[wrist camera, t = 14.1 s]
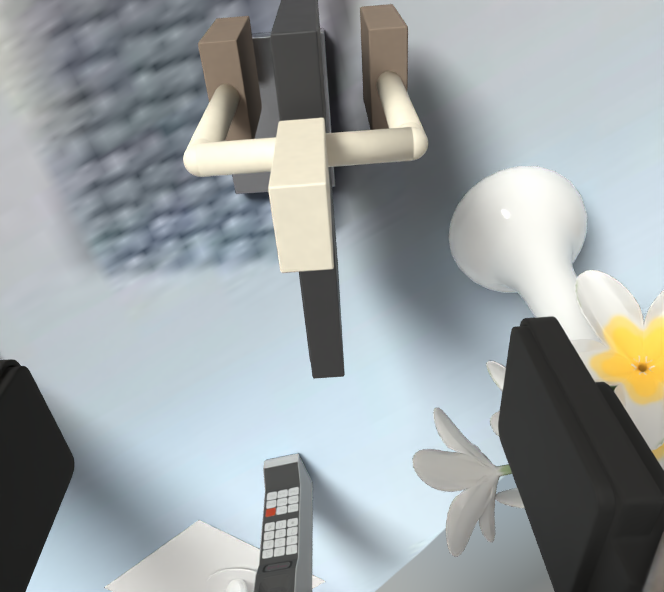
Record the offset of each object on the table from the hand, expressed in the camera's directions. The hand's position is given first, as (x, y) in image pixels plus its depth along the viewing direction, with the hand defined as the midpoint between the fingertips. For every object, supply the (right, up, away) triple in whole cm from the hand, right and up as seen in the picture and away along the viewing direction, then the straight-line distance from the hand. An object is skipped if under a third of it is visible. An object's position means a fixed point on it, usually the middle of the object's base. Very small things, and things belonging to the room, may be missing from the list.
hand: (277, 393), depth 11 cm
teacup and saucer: (-14, -35, +61) cm, 72 cm away
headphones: (0, +15, +21) cm, 26 cm away
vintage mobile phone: (-3, -16, +48) cm, 51 cm away
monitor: (-3, +14, +26) cm, 30 cm away
